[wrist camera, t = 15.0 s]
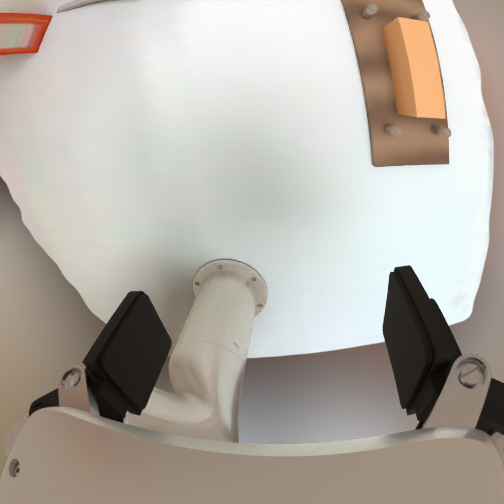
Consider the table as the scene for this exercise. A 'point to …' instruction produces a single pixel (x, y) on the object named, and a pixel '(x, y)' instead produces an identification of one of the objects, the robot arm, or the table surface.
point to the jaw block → (414, 68)
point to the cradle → (392, 89)
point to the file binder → (22, 32)
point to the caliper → (74, 5)
